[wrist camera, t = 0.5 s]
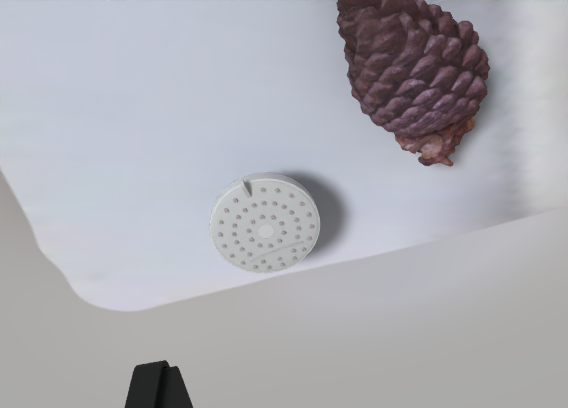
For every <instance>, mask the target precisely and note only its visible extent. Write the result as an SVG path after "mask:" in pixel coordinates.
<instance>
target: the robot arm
mask: <svg viewBox="0 0 568 408" xmlns="http://www.w3.org/2000/svg"><path fill="white" fill-rule="evenodd" d="M125 408H193V406H192V403H191V400H190V398H189V395H188V392H187V390H186V387H185V384H184V381H183V379H182V376H181V373H180V371H179V368H178V367H177V366H175V367H170V366H169V364H168V362H167V361H166V360H164V361H159V362H153V363H147V364H142V365H137V366H136V367H135V368H134V371H133V375H132V379H131V383H130V387H129V392H128V396H127V400H126V404H125Z"/></svg>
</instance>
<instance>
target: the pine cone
mask: <svg viewBox="0 0 568 408" xmlns="http://www.w3.org/2000/svg"><path fill="white" fill-rule="evenodd" d="M337 7H338V11H339V12H340V13H339V15H338V17H337V24H338V25H339V27H340V28H339V34H340V36H341V37H342V38H343V39H345V41H346V44H345V48H344V52H345V59H346V60H347V62H348V63H349V71H348V73H347V76H348V78H349V81H350V84H351V86H352V91H351V93H352V96H353V97H354V98H356V99H357V100H358V101H359V102H360V105H361V107H360V108H361V110H362V112H363V113H364V114H367V115H369V116H370V118H371V120H372V122H373V123H374V124H376V125H378V126H381V127H383V128H384V129H385V130H386V131H388V132H394V134H395V140H396V141H397V142H398V143H399V144H400V145H401V148H402V150H406V151H410V152H411V153H414V154H415V153H416V152H420V153H422V156H421V157H419V158H418V160H419V162H420V163H422V164H423V165H424V166H430V165H432V164H436V163H443V164H445V165H448V166H453V162H452V161H450V160H449V159H448V156H449V155H450V154H452V153H454V152H455V146H457V145H459V143H460V141H461V139H462V136H463V135H464V134H465V133H467V132H469V131H471V130H472V128H473V127H474V125H475V121H474V120H473V118H472V117H473V116H474V115H476V113H477V111H478V110H479V108H480V106H479V103H480V102H481V101H482V99H483V98H484V97H485V96H486V95H487V86H486V84H485V82H484V80H486V79H487V78H488V71H489V70H490V67H489V65H488V63H487V62H488V57H487V55H486V53H485V51H484V50H483V49H480V47H479V46H478V45H477V43H478V41H479V36H478V33H477V32H475V31H473V25H472V23H470V22H469V21H461V22H460V23H457V22H456V21H455V20H454V19H452V18H453V17H452V15H451V13H450V12H443V11H442V10H441V7H440V6H438V5H434V4H432V5H428V4H427V3H426V2H425V1H424V0H338V2H337Z"/></svg>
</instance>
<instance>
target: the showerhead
mask: <svg viewBox="0 0 568 408" xmlns="http://www.w3.org/2000/svg"><path fill="white" fill-rule="evenodd" d="M319 233H320V216H319V212H318V209H317V207H316V204H315V202H314V199H313V197H312V196H311V194H310V193H309V192H308V190H307V189H306V188H305V187H304V186H303V185H301V184H300V183H299V182H297V181H296V180H294V179H292V178H290V177H287V176H284V175H281V174H276V173H256V174H251V175H247V176H244V177H242V178H240V179H238V180H236V181H234V182H233V183H231V184H230V185H229V186H227V187H226V188H225V189H224V190H223V191H222V192H221V194H220V195H219V196H218V198H217V199H216V201H215V203H214V206H213V209H212V213H211V219H210V235H211V239H212V242H213V244H214V246H215V248H216V250H217V251H218V253H219V254H220V255H221V256H222V257H223V258H224V259H225V260H226V261H227V262H229V263H230V264H232V265H234V266H235V267H237V268H240V269H243V270H245V271H249V272H255V273H271V272H277V271H281V270H284V269H287V268H289V267H292V266H294V265H295V264H297V263H298V262H300V261H301V260H302V259H304V258H305V257H306V256H307V255H308V254H309V253H310V251H311V250H312V249H313V247H314V246H315V244H316V242H317V239H318V237H319Z"/></svg>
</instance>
